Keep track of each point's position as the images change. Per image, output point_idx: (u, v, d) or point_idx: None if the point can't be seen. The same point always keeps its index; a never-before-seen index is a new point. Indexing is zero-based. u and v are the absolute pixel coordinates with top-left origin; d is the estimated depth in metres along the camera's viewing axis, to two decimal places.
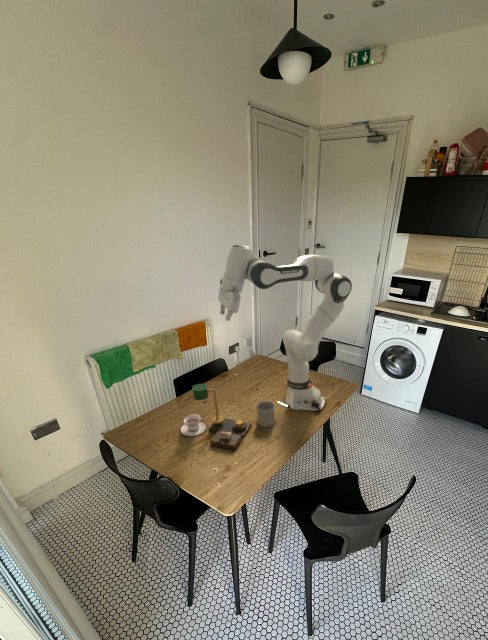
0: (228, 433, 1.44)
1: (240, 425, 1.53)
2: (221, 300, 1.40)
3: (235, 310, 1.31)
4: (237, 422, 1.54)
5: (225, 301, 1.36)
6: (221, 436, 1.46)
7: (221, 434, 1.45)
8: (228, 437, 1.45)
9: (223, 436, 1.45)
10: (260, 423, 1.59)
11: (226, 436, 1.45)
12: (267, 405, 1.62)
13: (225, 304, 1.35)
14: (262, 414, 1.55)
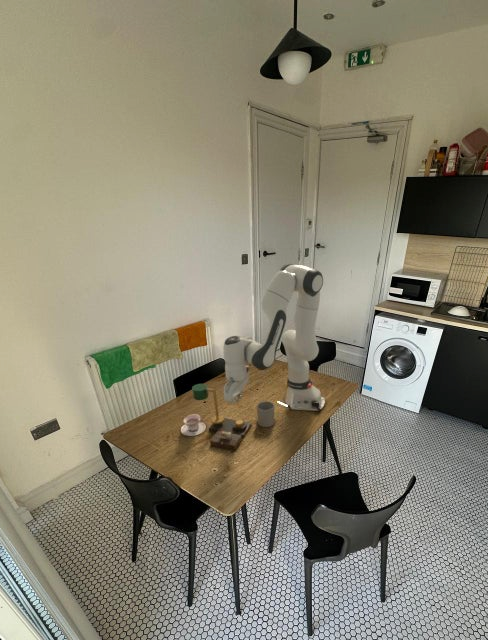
0: (228, 433, 1.44)
1: (240, 425, 1.53)
2: None
3: (228, 400, 1.36)
4: (237, 422, 1.54)
5: None
6: (221, 436, 1.46)
7: (221, 434, 1.45)
8: (228, 437, 1.45)
9: (223, 436, 1.45)
10: (260, 423, 1.59)
11: (226, 436, 1.45)
12: (267, 405, 1.62)
13: None
14: (262, 414, 1.55)
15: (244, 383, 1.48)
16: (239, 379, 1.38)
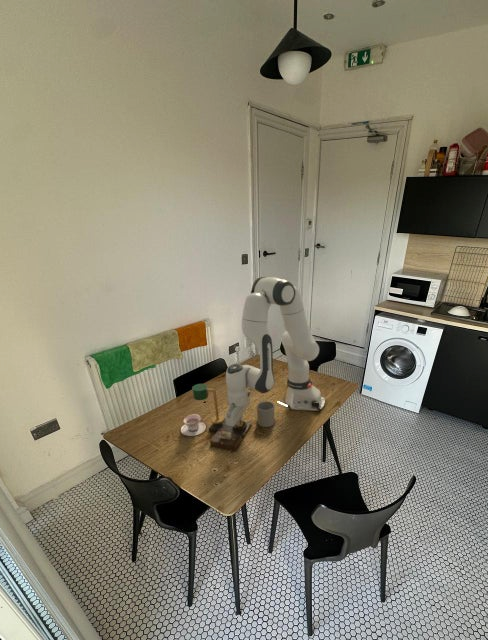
0: (228, 433, 1.44)
1: (240, 426, 1.53)
2: None
3: (229, 425, 1.43)
4: None
5: None
6: (221, 436, 1.46)
7: (221, 434, 1.45)
8: (228, 437, 1.45)
9: (223, 436, 1.45)
10: (260, 423, 1.59)
11: (226, 436, 1.45)
12: (267, 405, 1.62)
13: None
14: (262, 414, 1.55)
15: (245, 407, 1.54)
16: (240, 405, 1.44)
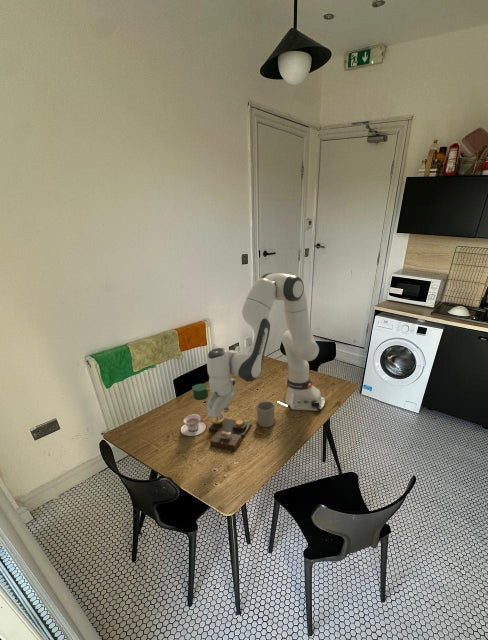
0: (228, 433, 1.44)
1: (240, 425, 1.53)
2: None
3: (212, 416, 1.28)
4: (237, 422, 1.54)
5: None
6: (221, 436, 1.46)
7: (221, 434, 1.45)
8: (228, 437, 1.45)
9: (223, 436, 1.45)
10: (260, 423, 1.59)
11: (226, 436, 1.45)
12: (267, 405, 1.62)
13: None
14: (262, 414, 1.55)
15: (230, 397, 1.40)
16: (224, 394, 1.30)
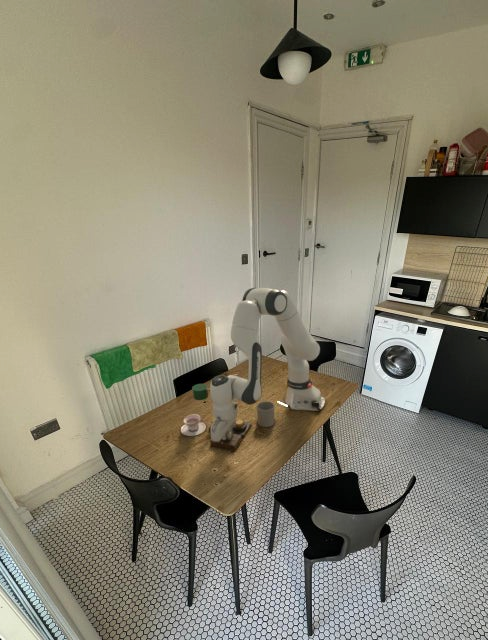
0: (228, 433, 1.44)
1: (240, 425, 1.53)
2: None
3: (215, 440, 1.35)
4: (237, 422, 1.54)
5: None
6: None
7: None
8: (228, 437, 1.45)
9: None
10: (260, 423, 1.59)
11: None
12: (267, 405, 1.62)
13: None
14: (262, 414, 1.55)
15: (232, 419, 1.46)
16: (226, 418, 1.36)
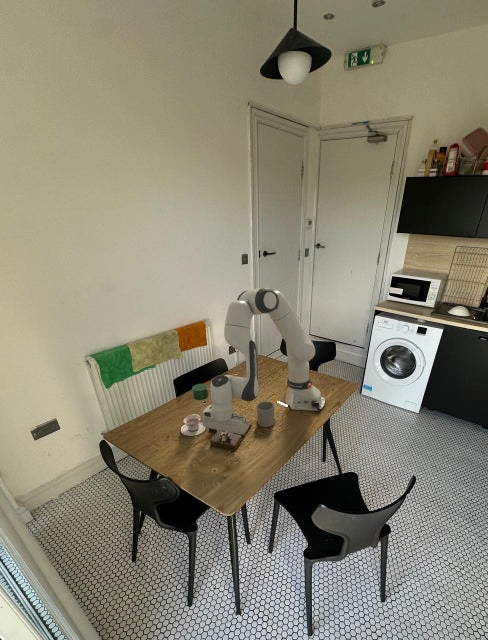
0: None
1: None
2: (214, 427, 1.43)
3: None
4: None
5: (226, 427, 1.41)
6: (225, 438, 1.44)
7: (225, 436, 1.44)
8: (228, 433, 1.47)
9: (226, 437, 1.45)
10: (260, 423, 1.59)
11: None
12: (267, 405, 1.62)
13: (228, 430, 1.41)
14: (262, 414, 1.55)
15: None
16: None
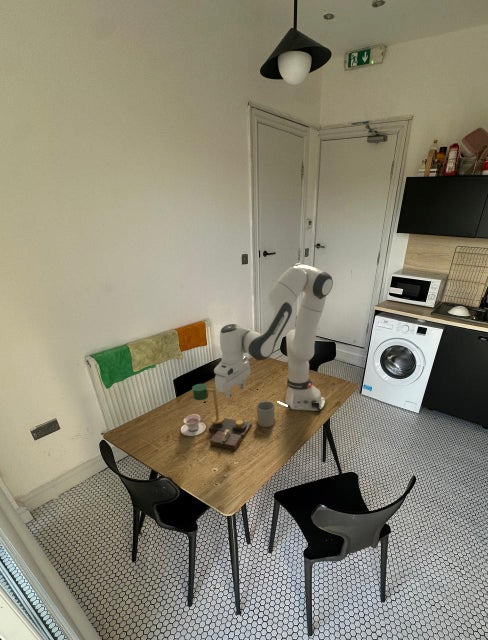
0: (227, 430, 1.46)
1: (240, 425, 1.53)
2: (231, 385, 1.35)
3: None
4: (237, 422, 1.54)
5: (239, 377, 1.38)
6: (225, 438, 1.44)
7: (225, 436, 1.44)
8: (228, 433, 1.47)
9: (226, 437, 1.45)
10: (260, 423, 1.59)
11: (228, 434, 1.46)
12: (267, 405, 1.62)
13: (241, 378, 1.40)
14: (262, 414, 1.55)
15: None
16: None
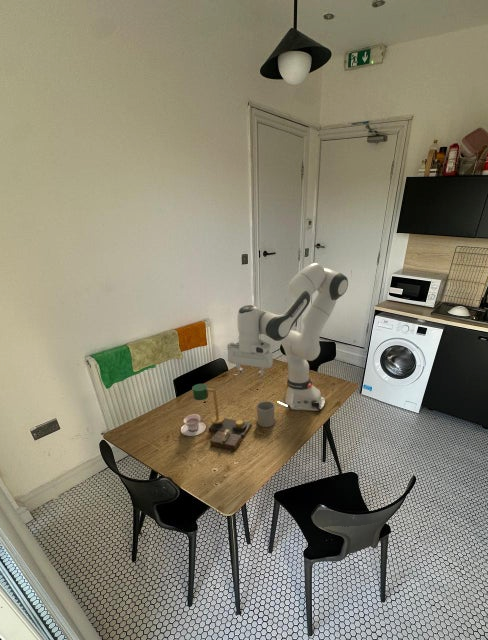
0: (227, 430, 1.46)
1: (240, 425, 1.53)
2: None
3: None
4: (237, 422, 1.54)
5: None
6: (225, 438, 1.44)
7: (225, 436, 1.44)
8: (228, 433, 1.47)
9: (226, 437, 1.45)
10: (260, 423, 1.59)
11: (228, 434, 1.46)
12: (267, 405, 1.62)
13: None
14: (262, 414, 1.55)
15: (258, 363, 1.38)
16: (239, 348, 1.36)
